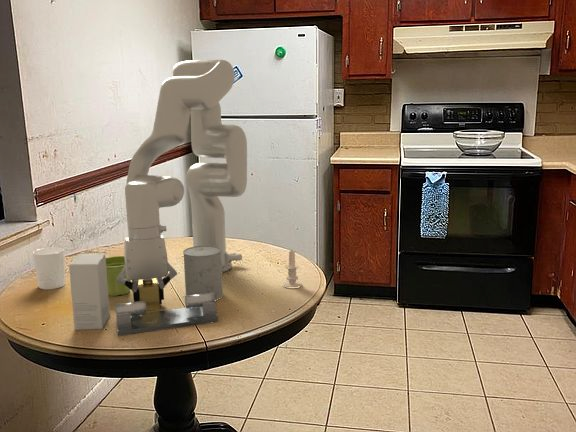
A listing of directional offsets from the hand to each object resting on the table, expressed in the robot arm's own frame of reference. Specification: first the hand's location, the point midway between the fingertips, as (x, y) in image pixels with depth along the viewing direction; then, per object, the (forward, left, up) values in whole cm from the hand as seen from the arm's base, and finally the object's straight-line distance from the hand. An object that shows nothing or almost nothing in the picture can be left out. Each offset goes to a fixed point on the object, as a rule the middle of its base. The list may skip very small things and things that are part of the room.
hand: (149, 303), depth 139 cm
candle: (-38, -2, -1) cm, 38 cm away
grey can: (-14, -2, -1) cm, 14 cm away
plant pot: (+7, -13, -1) cm, 15 cm away
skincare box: (+13, +6, -1) cm, 14 cm away
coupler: (0, 0, -1) cm, 1 cm away
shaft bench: (-3, +11, -1) cm, 11 cm away
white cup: (+24, -25, -1) cm, 35 cm away
